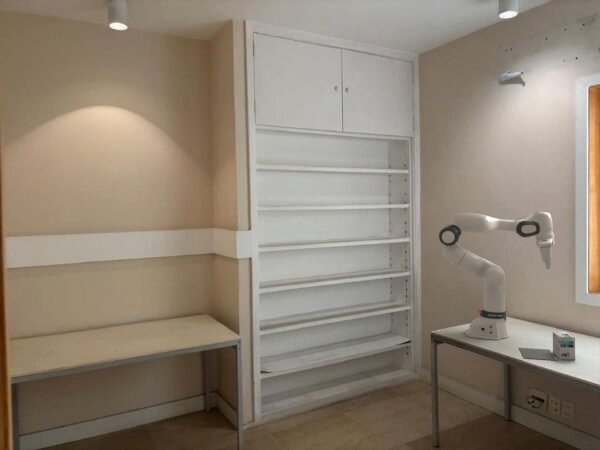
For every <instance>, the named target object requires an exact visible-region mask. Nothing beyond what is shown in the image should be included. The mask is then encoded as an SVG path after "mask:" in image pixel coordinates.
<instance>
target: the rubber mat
mask: <svg viewBox="0 0 600 450" xmlns="http://www.w3.org/2000/svg"><path fill="white" fill-rule="evenodd" d="M518 350H519V351H520V353H521V356H522V357H523V359H527V360H538V361H539V360H540V361H555V362H558V360H557V357H556V356H555V354H554V353H553V351H551V350H550V349H545V348H531V347H529V348H528V347H518Z"/></svg>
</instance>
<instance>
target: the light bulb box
mask: <svg viewBox="0 0 600 450" xmlns="http://www.w3.org/2000/svg"><path fill="white" fill-rule="evenodd" d="M552 354H553V355H554V356H555V357H556V358H558V359H559V360H572V361H573V360H576V337H575V336H573V335H571V333H569V332H567V331H557V330H556V331H555V330H553V331H552Z"/></svg>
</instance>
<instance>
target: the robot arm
mask: <svg viewBox="0 0 600 450" xmlns="http://www.w3.org/2000/svg"><path fill="white" fill-rule="evenodd" d="M553 229H554V224H553V219H552V215H551V214H550V212H547V211H534V213H532V214H531V215H529V216H528V217H520V218H517V219H506V218H505V219H503V218H496V217H492V216H490V215H487V214H482V213H476V212H475V213H474V212H463V213H462V212H460V213H457V214H456V215H455V216H454V218H453V221H452V223H451V224H446V225H444V226H443V227H442V228H440V230H439V233H438V239H439V241H440V243H441V244H442V245H444V248H443V250H442V257H443V258H444V259H445V260H447V261H448V262H449V263H450V264H452V265H453V266H455V267H457V268H458V269H461V270H462V271H464V272H466V273H468V274H469V275H472V276H475V277H477V278H479V279H481V280H483V309H482V308H479V309H478V312H479V316H478V317H476V318H475V319H474V320H472V321H471V322H470V324H469V328H467V329H465V332H464V334H465V335H466V337H468V338H477V339H485V340H494V341H499V340H501V339H508V338H509V333H508V330H507V329H508V328H507V311H506V285H507V284H506V283H507V281H506V280H507V277H506V274H505V271H504V269H503V268H502V267H501V266H500V265H498V264H495V263H494V262H492V261H490V260H488V259H487V258H484V257H481V256H479V255H477V254H476V253H473V252H472V251H470V250H468V249H466V248H464V247H463V246H461V245H459V239H460V237H461V235H462V234H463V233H470V234H487V233H490V232H492V231H505V232H514V233H516V234H517V235H518V236H519V237H521V238H530V237H533V236H535V244H536V246H537V248H539V251H540V255H541V256H540V257H541V260H542V262H544V264H545V269H546V270H550V269H551V260H552V255H553V254H552V248H553V246H554V245H555V244H556V239H555V233H554V231H553Z"/></svg>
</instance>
